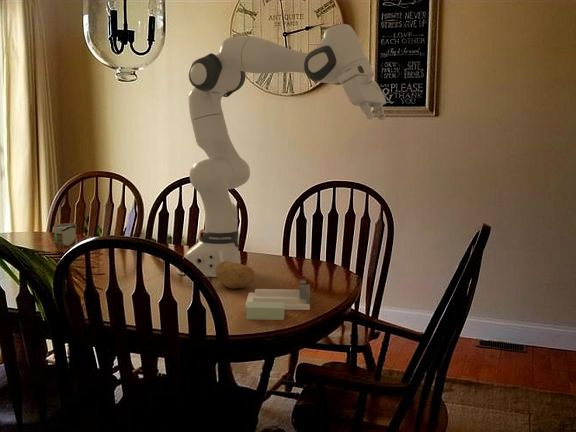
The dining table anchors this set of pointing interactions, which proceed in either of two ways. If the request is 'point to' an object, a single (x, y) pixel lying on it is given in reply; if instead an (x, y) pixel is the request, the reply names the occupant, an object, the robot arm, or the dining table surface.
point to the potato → (234, 274)
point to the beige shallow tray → (284, 297)
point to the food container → (65, 235)
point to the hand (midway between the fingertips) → (377, 119)
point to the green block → (265, 310)
